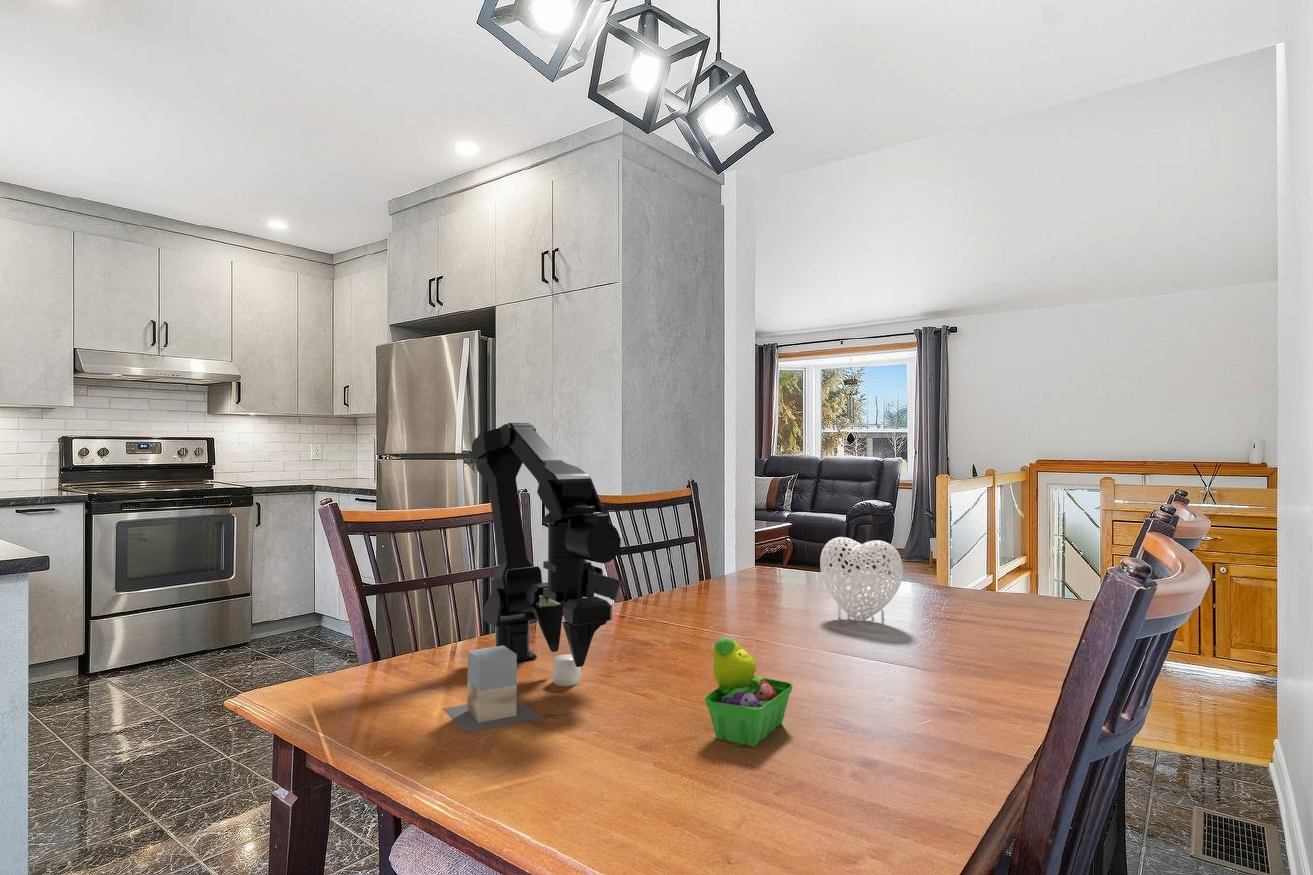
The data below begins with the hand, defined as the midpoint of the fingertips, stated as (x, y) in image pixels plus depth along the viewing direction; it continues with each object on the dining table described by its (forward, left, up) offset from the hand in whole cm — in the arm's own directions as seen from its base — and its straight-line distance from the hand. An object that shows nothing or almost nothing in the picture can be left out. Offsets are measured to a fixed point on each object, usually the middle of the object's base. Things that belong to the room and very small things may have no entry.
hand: (566, 658), depth 109 cm
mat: (+7, -14, -4) cm, 16 cm away
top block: (+7, -14, +1) cm, 16 cm away
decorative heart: (-6, +69, -4) cm, 69 cm away
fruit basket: (+28, +12, -4) cm, 31 cm away
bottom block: (+7, -14, -3) cm, 16 cm away
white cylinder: (0, 0, -4) cm, 4 cm away
